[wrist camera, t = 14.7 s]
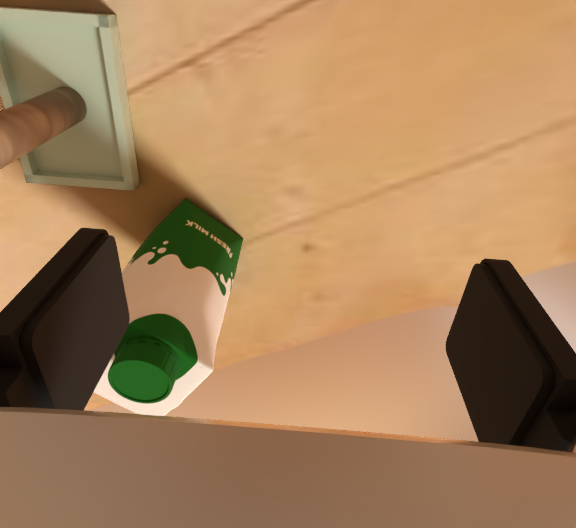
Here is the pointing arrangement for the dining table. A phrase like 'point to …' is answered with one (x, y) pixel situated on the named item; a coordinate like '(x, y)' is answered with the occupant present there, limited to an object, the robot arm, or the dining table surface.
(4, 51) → the tray
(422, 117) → the dining table surface
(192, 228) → the milk carton
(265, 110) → the dining table surface
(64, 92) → the pin
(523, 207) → the dining table surface
